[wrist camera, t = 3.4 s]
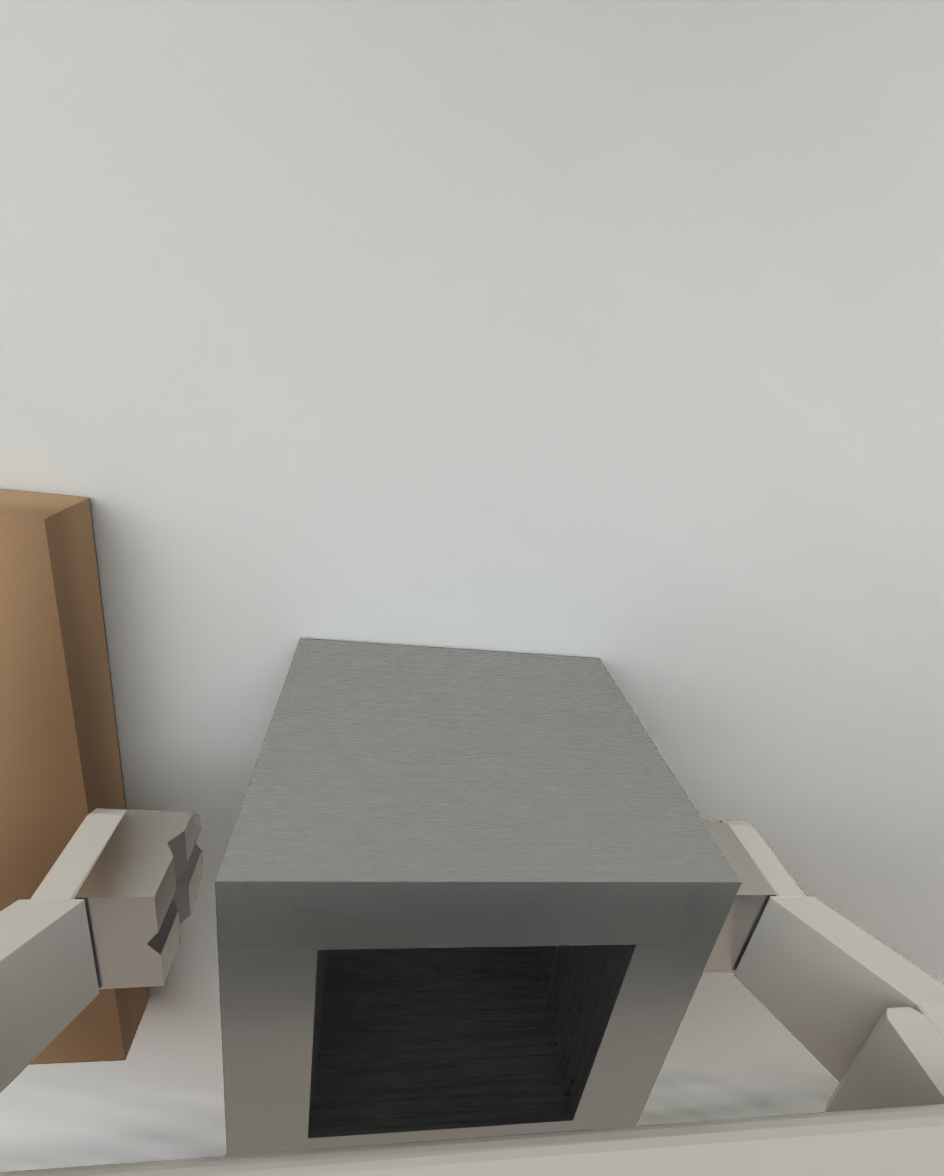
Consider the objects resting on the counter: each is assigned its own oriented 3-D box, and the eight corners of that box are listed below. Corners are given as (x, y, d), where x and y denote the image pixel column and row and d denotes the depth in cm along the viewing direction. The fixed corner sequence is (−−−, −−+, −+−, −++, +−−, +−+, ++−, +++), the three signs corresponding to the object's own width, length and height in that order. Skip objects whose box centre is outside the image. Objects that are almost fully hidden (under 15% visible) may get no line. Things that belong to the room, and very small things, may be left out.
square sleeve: (599, 658, 11) (741, 882, 6) (545, 870, 13) (623, 1154, 8) (300, 638, 10) (213, 881, 5) (293, 869, 12) (227, 1185, 8)
